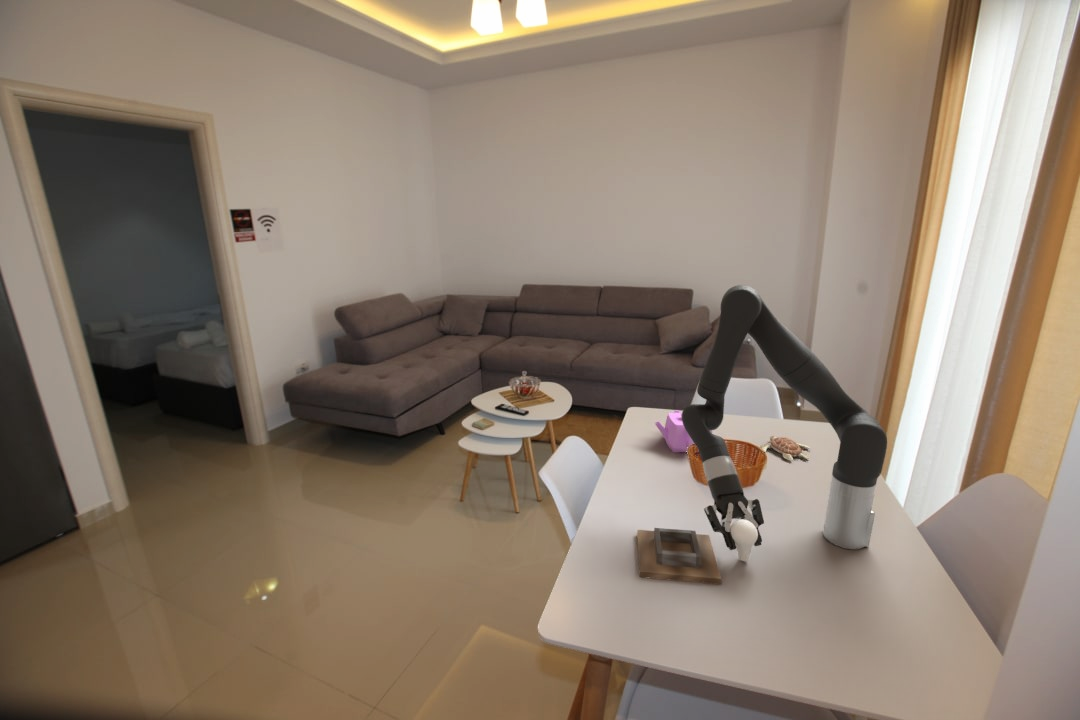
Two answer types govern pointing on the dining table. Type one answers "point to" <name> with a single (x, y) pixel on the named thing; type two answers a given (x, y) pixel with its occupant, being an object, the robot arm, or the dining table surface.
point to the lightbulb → (744, 537)
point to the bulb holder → (677, 556)
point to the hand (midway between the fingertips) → (745, 547)
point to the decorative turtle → (786, 447)
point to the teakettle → (675, 432)
